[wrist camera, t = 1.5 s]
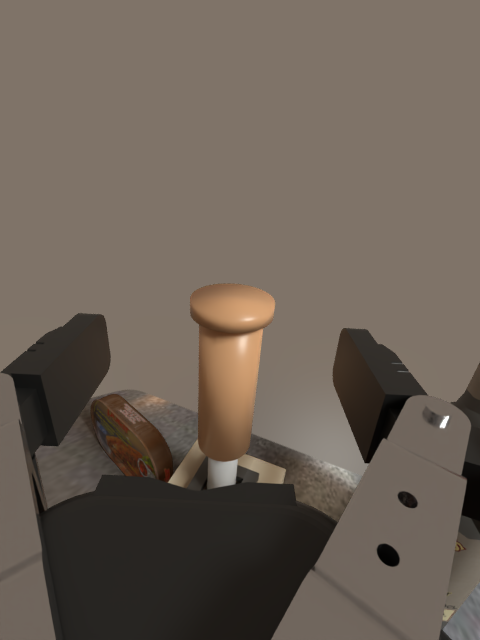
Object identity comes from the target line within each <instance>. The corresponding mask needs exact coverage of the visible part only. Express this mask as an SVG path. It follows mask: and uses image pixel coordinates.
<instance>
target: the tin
mask: <svg viewBox="0 0 480 640" xmlns="http://www.w3.org/2000/svg"><path fill="white" fill-rule="evenodd" d="M91 419H92V423H93V427H94V430H95V433H96V435H97V438H98V440H99V442H100V444H101V446H102V448H103V449H104V451H105V452H106V453H107V455H108V456H109V457H110V458H111V459H112V460H113V462H114V463H115V464H116V465H117V466H118V467H119V468H120V470H121V471H122V472H123V473H124V474H125V475H126V476H137V477H151V478H154V479H157V480H161V481H164V482H167V483H168V482H169V480H170V479H171V477H172V476H173V459H172V455H171V452H170V450H169V447H168V445H167V443H166V441H165V439H164V438H163V436H162V435H161V433H160V432H159V431H158V430H157V428H156V427H155V426H153V425H152V424H151V423H150V422H149V421H148V420H147V419H146V418H145V417H144V416H143V415H141V414H140V413H139V412H138V411H137V410H136V409H135V408H134V407H133V406H131V405H130V404H129V403H128V402H127V401H126V400H125V399H124V398H122V397H121V396H119V395H117V394H111V395H108V396H106V397H103V398H101V399H98V400H94V401H93V402H92V404H91Z"/></svg>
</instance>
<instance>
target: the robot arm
mask: <svg viewBox="0 0 480 640" xmlns="http://www.w3.org/2000/svg"><path fill="white" fill-rule="evenodd" d="M109 366H110V349H109V342H108V334H107V327H106V321H105V318H104V316H103V315H101V314H83V313H78V314H77V315H75V316H74V317H73V318H72V319H71V320H70V321H69V322H68V323H67V324H65V325H64V326H63V327H59V328H57V329H55V330H53V331H51V332H48V333H47V334H45V335H44V336H43V337H42V338H40V339H39V340H38V341H37V342H36V344H33V345H32V346H31V347H30V348H29V349H28V350H27V351H25V352H24V353H23V354H21V355H20V356H19V357H18V358H17V359H16V360H14V361H13V362H12V363H11V364H10V365H9V366H7V367H6V368H5V369H4V370H3V371H1V372H0V640H451V639H450V638H449V636H448V635H447V634H446V633H445V632H444V631H443V630H442V629H441V625H442V619H443V614H444V608H445V602H446V597H447V591H448V585H449V580H450V574H451V569H452V563H453V557H454V552H455V546H456V541H457V535H458V529H459V524H460V518H461V515H463V516H466V517H469V518H471V520H472V521H473V523H474V525H475V527H476V528H477V530H478V532H479V534H480V428H478V427H474V426H471V423H470V420H469V419H468V417H467V416H466V415H465V414H464V413H463V412H462V411H461V410H460V409H458V408H457V407H456V406H454V405H452V404H451V403H449V402H446V401H444V400H442V399H439V398H436V397H432V396H428V395H427V393H426V392H425V391H424V390H423V388H422V387H421V386H420V385H419V383H418V382H417V381H416V379H415V378H414V377H413V376H412V374H411V373H409V372H408V369H407V368H406V367H405V365H404V364H402V362H401V360H400V359H399V358H398V356H397V355H396V354H395V353H394V352H392V351H391V350H390V349H388V348H387V347H385V346H384V345H382V344H377V342H376V341H375V340H374V338H373V337H372V336H371V334H370V333H369V331H368V330H366V329H350V328H344V329H342V331H341V334H340V338H339V343H338V347H337V352H336V357H335V362H334V366H333V383H334V387H335V389H336V392H337V394H338V397H339V399H340V402H341V404H342V407H343V409H344V412H345V414H346V417H347V419H348V422H349V424H350V427H351V430H352V432H353V435H354V437H355V440H356V442H357V445H358V447H359V450H360V452H361V455H362V458H363V460H364V462H365V463H370V464H369V465H368V467H367V469H366V471H365V473H364V475H363V477H362V479H361V480H360V482H359V484H358V486H357V488H356V490H355V492H354V494H353V495H352V497H351V499H350V501H349V503H348V505H347V507H346V509H345V510H344V512H343V514H342V516H341V518H340V520H339V522H338V523H337V522H336V521H335V520H333V519H332V518H330V517H329V516H328V515H326V514H325V513H323V512H321V511H319V510H317V509H315V508H313V507H311V506H309V505H306V504H304V503H301V502H298V501H296V498H295V491H294V484H274V483H255V482H244V483H239V484H234V485H228V486H223V487H217V488H212V489H206V490H200V491H195V490H190V489H187V488H184V487H180V486H177V485H174V484H171V483H167V482H164V481H161V480H157V479H154V478H151V477H137V476H118V475H102V477H101V479H100V481H99V483H98V486H97V488H96V490H95V491H93V492H89V493H85V494H82V495H78V496H75V497H73V498H70V499H67V500H65V501H63V502H61V503H58V504H56V505H54V506H52V507H50V508H49V509H48V507H47V503H46V498H45V494H44V489H43V485H42V480H41V476H40V471H39V466H38V462H37V458H36V455H35V452H36V450H37V449H38V447H39V446H40V445H43V446H59V445H60V443H61V442H62V440H63V439H64V437H65V436H66V434H67V433H68V431H69V430H70V428H71V427H72V425H73V424H74V422H75V421H76V419H77V418H78V416H79V415H80V413H81V412H82V410H83V409H84V407H85V406H86V404H87V403H88V401H89V400H90V398H91V397H92V395H93V394H94V392H95V390H96V389H97V388H98V386H99V384H100V383H101V381H102V380H103V378H104V377H105V375H106V374H107V372H108V370H109Z"/></svg>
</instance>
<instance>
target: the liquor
mask: <svg viewBox="0 0 480 640" xmlns="http://www.w3.org/2000/svg"><path fill="white" fill-rule="evenodd" d="M451 404H452V405H454V406H456V407H457V408H458V409H460V410H461V411H462V412H463V413H464V414H465V415H466V416H467V417H468V419H469V420H470V423H471V426H474V427H478V428H480V363H479V365H478V367H477V369H476V371H475V373H474V375H473V377H472V379H471V381H470V383H469V385H468V387H467V389H466V391H465V393H464V394H463V395H462V396H461V397H460V398H459V399H458V400H457V402H451ZM479 582H480V534H479V532H478V530H477V528H476V527H475V525H474V523H473V521H472V520H471V518H469V517H466V516H463V515H461V518H460V524H459V529H458V535H457V541H456V546H455V552H454V557H453V563H452V569H451V574H450V580H449V585H448V591H447V597H446V602H445V608H444V614H443V619H442V625H441V629H442V630H443V628H444V627H445V626H446V624H447V623H448V622H449V620H450V619H451V618H452V617H453V615H454V614H455V613H456V611H457V610H458V609H459V608H460V606H461V605H462V604H463V602H464V601H465V600H466V599H467V597H468V596H469V595H470V593H471V592H472V591H473V590H474V588H475V587H476V586H477V584H478V583H479Z"/></svg>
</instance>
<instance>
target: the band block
mask: <svg viewBox="0 0 480 640" xmlns="http://www.w3.org/2000/svg"><path fill="white" fill-rule="evenodd" d="M285 472H286V469H284V468H281V467H278V466H276V465H273V464H271V463H268V462H265V461H263V460H260V459H257V458H255V457H252V456H249V455H247V454H244V455H243V456H242V457H240V458H238V463H237V474H236V484H239V483H244V482H255V483H274V484H283V482H284V477H285ZM207 480H208V457H207V456H206V455H205V454H204V453H203V452H202V451H201V450H200V448H199V445H198V439H197V440H196V442H195V443H194V445H193V446H192V448H191V449H190V451H189V452H188V454H187V455H186V457H185V458H184V460H183V461H182V463H181V464H180V465H179V467H178V468H177V470H176V471H175V473H174V474H173V476H172V477H171V479H170V480H169V482H168V483H171V484H174V485H177V486H180V487H184V488H187V489H190V490H195V491H200V490H206V489H207Z"/></svg>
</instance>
